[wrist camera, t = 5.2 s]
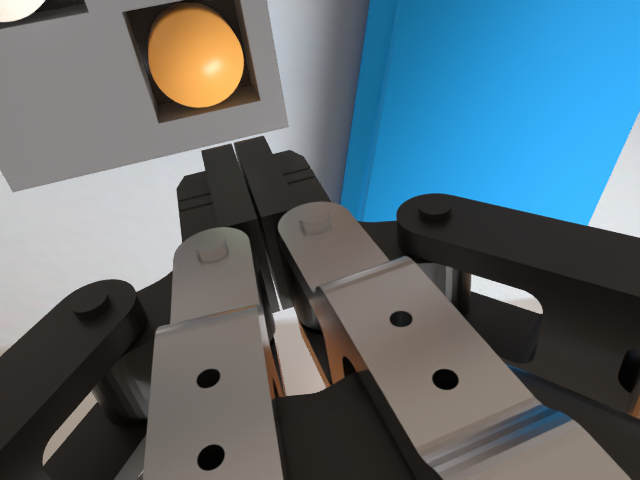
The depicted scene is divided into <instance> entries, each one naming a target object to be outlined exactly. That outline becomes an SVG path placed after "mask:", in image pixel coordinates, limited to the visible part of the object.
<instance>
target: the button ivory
mask: <svg viewBox="0 0 640 480" xmlns="http://www.w3.org/2000/svg"><path fill="white" fill-rule="evenodd" d="M44 1H45V0H0V22H10V21H15V20H19V19H22V18H24V17H27V16H28V15H30V14H32V13H33V12H34V11H36V10H37V9H38V8H39V7H40V6H41V5H42V4H43V3H44Z"/></svg>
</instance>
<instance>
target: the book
mask: <svg viewBox="0 0 640 480" xmlns="http://www.w3.org/2000/svg"><path fill="white" fill-rule="evenodd" d="M639 111H640V0H370V3H369V10H368V17H367V23H366V30H365V37H364V44H363V51H362V58H361V65H360V71H359V78H358V85H357V92H356V99H355V106H354V113H353V119H352V126H351V133H350V140H349V147H348V154H347V161H346V167H345V174H344V181H343V188H342V195H341V202H340V205H342V206H343V207H345V208H346V209H347V210H348V211H349V212H350V213H351V214H352V215H353V217H354V218H355V219H356V220H357V221H362V222H383V221H396V213H397V210H398V208H399V207H400V205H401V204H402V203H404V202H405V201H407V200H408V199H410V198H413V197H415V196H419V195H423V194H430V193H442V194H449V195H454V196H459V197H463V198H467V199H472V200H476V201H480V202H485V203H489V204H494V205H498V206H502V207H507V208H511V209H516V210H520V211H524V212H529V213H533V214H537V215H542V216H546V217H551V218H555V219H559V220H564V221H568V222H572V223H577V224H581V225H586V226H588V224H589V221H590V219H591V217H592V215H593V213H594V210H595V208H596V206H597V204H598V202H599V199H600V197H601V195H602V193H603V191H604V188H605V186H606V184H607V182H608V179H609V177H610V175H611V173H612V171H613V168H614V166H615V164H616V162H617V160H618V157H619V155H620V153H621V151H622V149H623V146H624V144H625V142H626V140H627V138H628V135H629V133H630V131H631V129H632V127H633V124H634V122H635V120H636V118H637V115H638V113H639Z"/></svg>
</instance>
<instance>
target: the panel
mask: <svg viewBox="0 0 640 480" xmlns="http://www.w3.org/2000/svg"><path fill="white" fill-rule="evenodd" d="M177 1H182V0H85V3H86V4H81V5H75V6H70V7H64V8H59V9H54V10H48V11H43V12H38V13H32V14H30V15H28V16H27V17H24V18H22V19H19V20H15V21H10V22H0V170H1V172H2V173H3V175H4V177H5V179H6V181H7V182H8V184H9V186H10V188H11V189H12V191H13V192H16V191H20V190H24V189H29V188H33V187H37V186H41V185H45V184H50V183H54V182H58V181H62V180H67V179H71V178H75V177H79V176H83V175H88V174H92V173H96V172H100V171H105V170H109V169H113V168H117V167H121V166H126V165H130V164H134V163H138V162H142V161H147V160H151V159H155V158H159V157H164V156H168V155H172V154H176V153H180V152H185V151H189V150H193V149H197V148H201V147H206V146H210V145H214V144H218V143H223V142H227V141H231V140H235V139H239V138H244V137H248V136H252V135H256V134H261V133H265V132H269V131H273V130H277V129H282V128H286V127H288V121H287V115H286V110H285V104H284V98H283V92H282V87H281V81H280V75H279V69H278V64H277V58H276V52H275V46H274V40H273V35H272V29H271V23H270V17H269V12H268V6H267V0H234V3H235V8H236V13H237V18H238V23H239V27H240V32H241V37H242V42H243V47H244V51H245V56H246V61H247V66H248V71H249V75H250V80H251V85H249V86H245V87H240V88H236V89H235V90H234V92H233V93H232V94H231V95H230V96H229V97H227V98H226V99H225V100H223V101H222V102H220V103H218V104H215V105H212V106H209V107H200V108H197V107H189V106H185V105H182V104H180V103H178V102H172V103H168V104H163V105H159V106H157V103H156V100H155V97H154V94H153V91H152V88H151V85H150V82H149V79H148V75H147V72H146V69H145V66H144V63H143V60H142V57H141V54H140V51H139V48H138V45H137V42H136V39H135V36H134V33H133V30H132V27H131V24H130V21H129V17H128V14H127V11H130V10H135V9H140V8H145V7H151V6H156V5H161V4H166V3H172V2H177Z"/></svg>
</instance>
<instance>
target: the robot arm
mask: <svg viewBox="0 0 640 480" xmlns="http://www.w3.org/2000/svg"><path fill="white" fill-rule="evenodd" d="M234 147H235V151H236V155H237V158H236V155H235V153H234V150H233V147H232V144H227V145H223V146H219V147H215V148H210V149H206V150H202V151H201V152H202V157H203V161H204V166H205V170H206V171H203V172H199V173H195V174H191V175H187V176H184V178H183V179H182V181H181V182H180V184H179V186H178V187H177V198H178V207H179V217H180V226H181V235H182V244H181V245H180V246H179V247H178V248H177V250H176V252H175V254H174V260H173V271H172V272H170V273H169V274H168V275H167V276H165V277H164V278H162V279H161V280H159V281H157V282H156V283H154V284H152V285H150V286H148V287H146V288H144V289H142V290H140V291H138V292H136V291H135V289H134V287H133V286H132V285H131V284H129V283H128V282H126V281H122V280H116V279H110V280H102V281H98V282H94V283H91V284H88V285H86V286H83V287H81V288H79V289H77V290H76V291H74V292H72V293H71V294H69V295H68V296H67V297H65V298H64V299H63V300H62V301H61V302H60V303H59V304H57V305H56V306H55V307H54V308H53V309H52V310H51V311H50V312H49V313H48V314H47V315H45V316H44V317H43V318H42V319H41V320H40V321H39V322H38V323H37V324H36V325H34V326H33V327H32V328H31V329H30V330H29V331H28V332H27V333H26V334H25V335H24V336H22V337H21V338H20V339H19V340H18V341H17V342H16V343H15V344H14V345H13V346H11V347H10V348H9V349H8V350H7V351H6V352H5V353H4V354H3V355H2V356H1V357H0V480H136V479H137V480H640V238H638V237H634V236H629V235H625V234H621V233H616V232H612V231H608V230H603V229H599V228H594V227H590V226H586V225H581V224H577V223H572V222H568V221H564V220H559V219H555V218H551V217H546V216H542V215H537V214H533V213H529V212H524V211H520V210H516V209H511V208H507V207H502V206H498V205H494V204H489V203H485V202H480V201H476V200H472V199H467V198H463V197H459V196H454V195H449V194H442V193H430V194H423V195H419V196H415V197H413V198H410V199H408V200H407V201H405V202H404V203H402V204H401V205H400V207H399V208H398V210H397V213H396V221H383V222H362V221H357V220H356V219H355V218H354V217H353V215H352V214H351V213H350V212H349V211H348V210H347V209H346V208H345V207H343V206H342V205H339V204H336V203H332V202H331V201H330V199H329V197H328V196H327V194H326V192H325V191H324V189H323V188H322V186H321V184H320V183H319V181H318V179H317V178H316V177H315V174H314V173H313V171H312V169H310V166H309V165H308V163H307V161H306V160H305V158H304V157H303V156H301V155H299V154H297V153H295V152H293V151H291V150H288V151H284V152H280V153H276V154H273V153H272V151H271V149H270V147H269V145H268V143H267V141H266V139H265V137H264V136H260V137H256V138H252V139H248V140H243V141H239V142H235V143H234ZM237 159H238V161H237ZM238 163H239V164H238ZM471 274H473V275H476V276H479V277H482V278H486V279H489V280H492V281H495V282H499V283H502V284H505V285H508V286H511V287H515V288H518V289H521V290H524V291H526V292H528V293H530V294H532V295H533V296H534V297H535V298H536V299H537V300H538V301H539V302H540V304H541V306H542V309H543V314H539V313H535V312H532V311H529V310H526V309H523V308H520V307H517V306H514V305H511V304H508V303H505V302H502V301H499V300H496V299H493V298H490V297H487V296H484V295H481V294H478V293H474V292H471V291H470V289H471ZM271 275H272V276H271ZM272 278H273V280H272ZM273 281H274V284H275V287H276V290H277V293H278V296H279V299H280V302H281V305H282V308H283V310H284V309H287V308H291V307H294V309H295V311H296V314H297V318H298V323H299V327H300V332H301V335H302V338H303V340H304V342H305V344H306V346H307V348H308V350H309V352H310V355H311V356H312V359H313V361H314V363H315V365H316V367H317V369H318V371H319V374H320V376H321V378H322V380H323V382H324V384H325V386H326V389H324V390H322V391H320V392H317V393H313V394H304V395H294V396H286V392H285V386H284V381H283V375H282V370H281V364H280V359H279V353H278V348H277V343H276V339H275V336H274V333H275V322H274V318H273V314H272V313H274V312H278V311H280V309H279V305H278V301H277V296H276V292H275V288H274V284H273ZM90 392H92V393H93V395H94V397H95V398H96V400H97V401H98V402H97V403H96V404H95V405H94V406H93V408H92V409H91V410H90V411H89V412H88V414H87V415H86V416H85V417H84V418H83V420H82V421H81V422H80V423H79V424H78V425H77V427H76V428H75V429H74V430H73V432H72V433H71V434H70V435H69V436H68V437H67V439H66V440H65V441H64V442H63V443H62V445H61V446H60V447H59V448H58V449H57V451H56V452H55V453H54V454H53V455H52V456H51V458H50V459H49V460H48V461H47V462H46V464H45V465H44V466H43V464H42V460H43V453H44V450H45V447H46V445H47V443H48V441H49V440H50V438H51V437H52V435H53V434H54V433H55V432H56V430H58V428H59V427H60V426H61V425H62V424H63V423H64V421H65V420H66V419H67V418H68V417H69V416H70V415H71V413H72V412H73V411H74V410H75V409H76V408H77V407H78V405H79V404H80V403H81V402H82V401H83V400H84V398H85V397H86V396H87V395H88V394H89V393H90ZM143 469H144V471H143ZM142 471H143V473H142V475H141V476H140V477H138V476H139V475H140V473H141V472H142Z"/></svg>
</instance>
